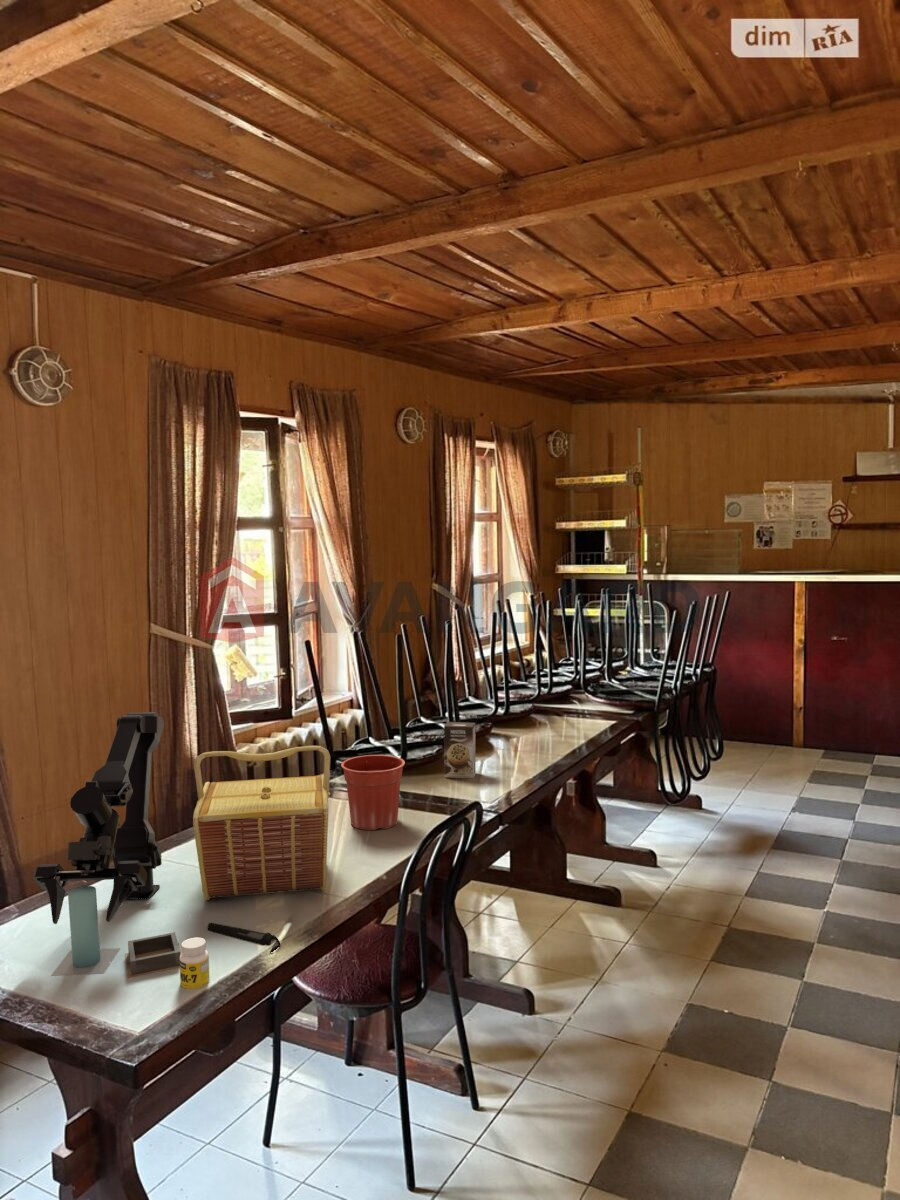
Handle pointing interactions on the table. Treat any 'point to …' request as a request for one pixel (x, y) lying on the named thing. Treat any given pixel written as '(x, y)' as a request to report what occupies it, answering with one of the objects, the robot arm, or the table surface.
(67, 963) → the pad
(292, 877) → the picnic basket
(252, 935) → the electric trimmer
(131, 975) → the socket
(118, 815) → the robot arm
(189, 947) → the supplement bottle
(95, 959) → the peg
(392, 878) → the table surface
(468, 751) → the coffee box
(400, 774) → the flower pot
